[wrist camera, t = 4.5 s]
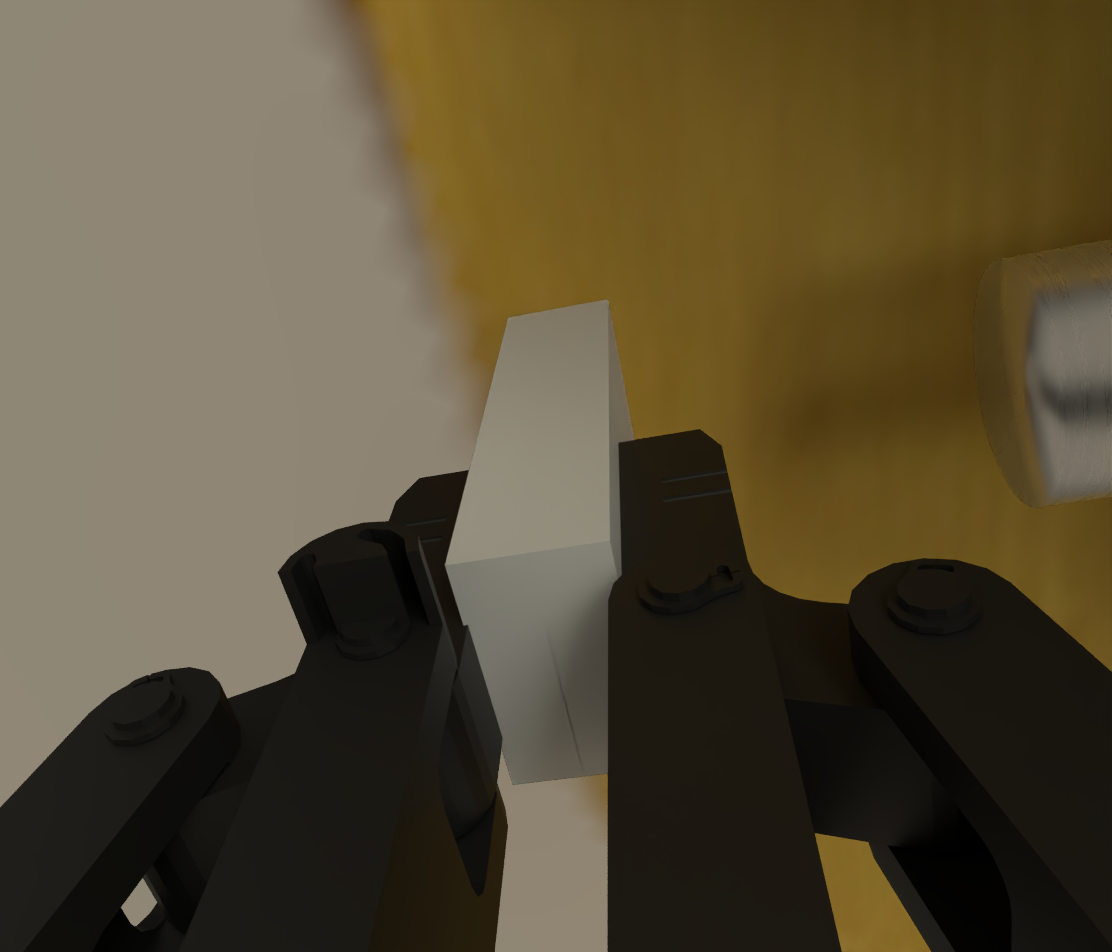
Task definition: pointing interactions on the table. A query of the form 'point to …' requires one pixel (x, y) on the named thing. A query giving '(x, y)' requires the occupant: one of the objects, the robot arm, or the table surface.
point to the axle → (1048, 371)
